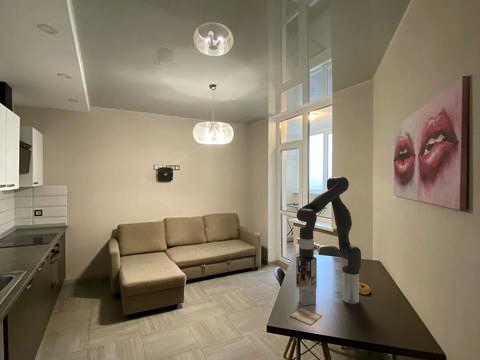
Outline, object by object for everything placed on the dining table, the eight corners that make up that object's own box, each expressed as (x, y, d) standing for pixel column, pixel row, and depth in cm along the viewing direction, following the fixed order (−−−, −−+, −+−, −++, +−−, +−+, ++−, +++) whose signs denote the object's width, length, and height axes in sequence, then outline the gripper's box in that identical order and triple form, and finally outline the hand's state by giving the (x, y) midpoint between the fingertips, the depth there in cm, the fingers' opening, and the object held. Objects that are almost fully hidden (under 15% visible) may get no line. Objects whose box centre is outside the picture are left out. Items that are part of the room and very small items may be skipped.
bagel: (356, 295, 163) (356, 287, 163) (351, 287, 173) (352, 280, 173) (373, 296, 161) (373, 288, 161) (367, 288, 172) (367, 281, 172)
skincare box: (311, 299, 156) (311, 273, 156) (316, 305, 149) (317, 277, 149) (298, 300, 154) (298, 274, 154) (303, 306, 147) (303, 278, 147)
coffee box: (317, 288, 136) (317, 257, 136) (311, 292, 131) (311, 260, 131) (301, 283, 142) (301, 254, 142) (295, 286, 137) (295, 256, 137)
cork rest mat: (301, 308, 145) (301, 307, 145) (321, 316, 137) (321, 314, 137) (290, 316, 136) (290, 315, 136) (310, 325, 128) (310, 324, 128)
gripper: (306, 243, 144) (306, 272, 144) (292, 248, 134) (292, 280, 134) (319, 245, 139) (319, 276, 139) (305, 250, 129) (305, 284, 129)
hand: (306, 278), depth 136 cm, fingers closed on coffee box, 6 cm apart
